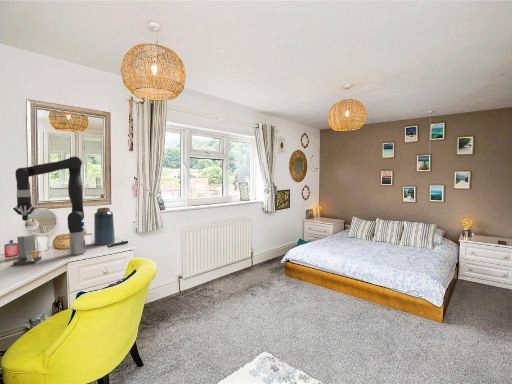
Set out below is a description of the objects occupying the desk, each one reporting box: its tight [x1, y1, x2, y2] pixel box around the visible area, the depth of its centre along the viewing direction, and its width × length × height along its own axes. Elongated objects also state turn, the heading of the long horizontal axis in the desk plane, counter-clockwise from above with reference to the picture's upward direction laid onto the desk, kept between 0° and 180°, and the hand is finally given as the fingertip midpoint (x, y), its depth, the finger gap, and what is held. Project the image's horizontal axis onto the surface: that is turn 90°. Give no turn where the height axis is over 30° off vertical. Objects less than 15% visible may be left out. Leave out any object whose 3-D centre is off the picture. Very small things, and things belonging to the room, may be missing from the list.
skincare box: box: [16, 234, 36, 258], centre depth 199 cm, size 8×7×16 cm
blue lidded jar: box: [93, 207, 116, 246], centre depth 238 cm, size 16×16×32 cm
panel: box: [12, 250, 42, 266], centre depth 186 cm, size 12×12×6 cm
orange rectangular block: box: [30, 250, 39, 259], centre depth 187 cm, size 4×4×5 cm
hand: (25, 220), depth 187 cm, fingers closed
